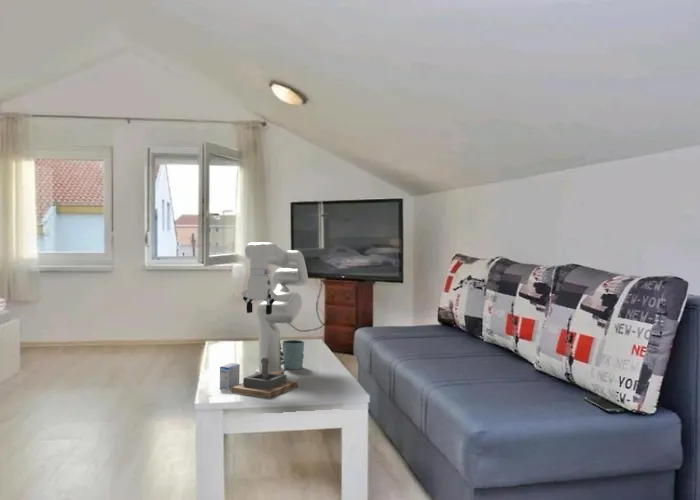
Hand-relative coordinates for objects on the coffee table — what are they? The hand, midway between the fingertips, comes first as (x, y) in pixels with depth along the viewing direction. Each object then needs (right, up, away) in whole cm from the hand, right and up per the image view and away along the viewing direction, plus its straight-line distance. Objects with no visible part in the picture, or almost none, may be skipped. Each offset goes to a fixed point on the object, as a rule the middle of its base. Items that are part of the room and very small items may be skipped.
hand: (259, 313), depth 247 cm
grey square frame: (+5, -26, -12) cm, 30 cm away
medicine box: (-10, -29, -10) cm, 32 cm away
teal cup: (+12, -28, +25) cm, 39 cm away
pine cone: (-2, -27, +51) cm, 58 cm away
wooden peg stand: (+5, -29, -14) cm, 32 cm away
